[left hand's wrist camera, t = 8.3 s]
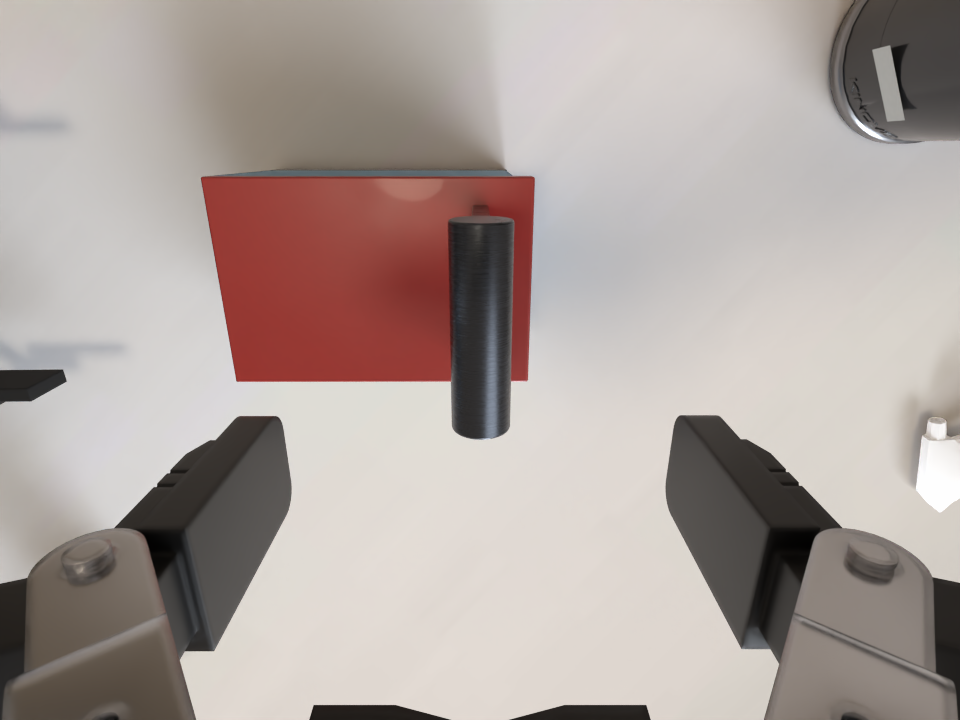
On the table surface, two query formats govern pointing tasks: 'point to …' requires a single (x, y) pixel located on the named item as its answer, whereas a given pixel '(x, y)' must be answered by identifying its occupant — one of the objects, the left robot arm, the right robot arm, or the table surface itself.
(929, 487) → the wireless presentation dongle
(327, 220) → the lid
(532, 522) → the table surface
